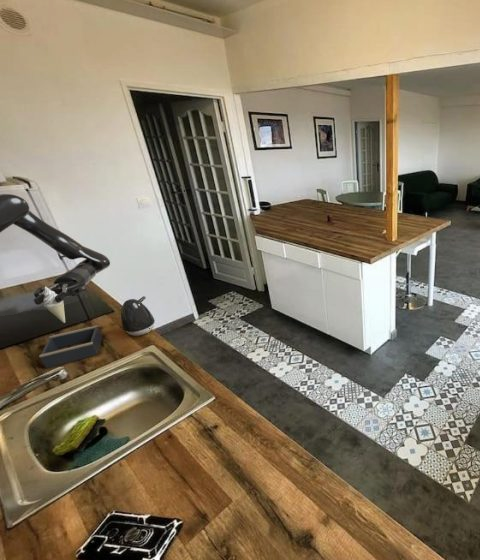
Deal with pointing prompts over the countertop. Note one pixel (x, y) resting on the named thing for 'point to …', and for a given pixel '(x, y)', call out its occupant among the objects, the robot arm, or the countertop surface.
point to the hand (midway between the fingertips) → (47, 301)
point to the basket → (57, 357)
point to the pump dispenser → (136, 317)
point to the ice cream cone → (54, 304)
